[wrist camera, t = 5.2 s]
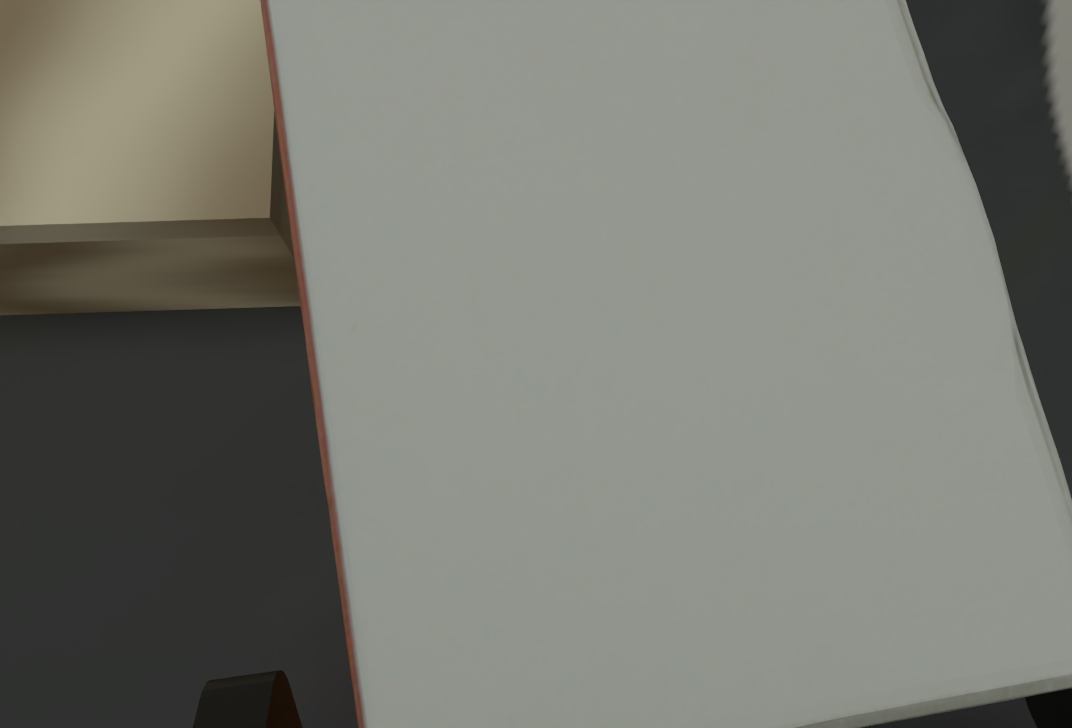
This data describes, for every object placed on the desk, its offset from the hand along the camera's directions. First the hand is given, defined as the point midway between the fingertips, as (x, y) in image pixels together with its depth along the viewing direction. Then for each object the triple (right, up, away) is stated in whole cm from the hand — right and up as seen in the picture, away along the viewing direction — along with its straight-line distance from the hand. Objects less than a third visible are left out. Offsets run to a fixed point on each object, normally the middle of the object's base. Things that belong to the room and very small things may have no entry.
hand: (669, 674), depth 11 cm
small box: (0, 0, +11) cm, 11 cm away
